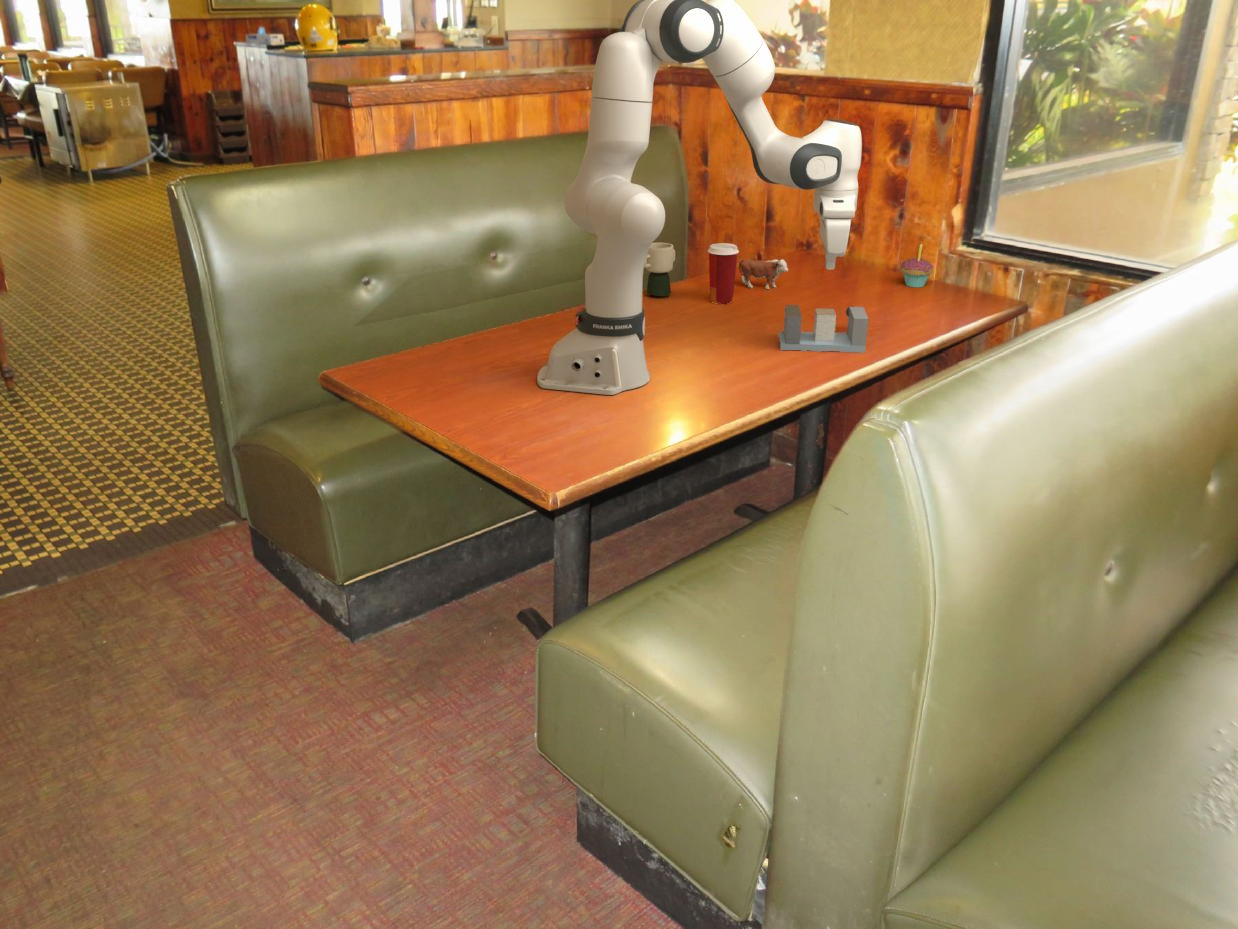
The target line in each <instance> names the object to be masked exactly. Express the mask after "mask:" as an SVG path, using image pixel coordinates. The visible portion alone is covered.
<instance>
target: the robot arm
mask: <svg viewBox="0 0 1238 929" xmlns="http://www.w3.org/2000/svg"><path fill="white" fill-rule="evenodd" d="M598 48H599V49H598V52H597V56H596V61H595V64H594V71H593V78H592V84H591V93H590V94H591V95H590V96H591V98H590V109H589V124H588V133H587V134H588V135H587V140H586V141H587V142H586V146H585V151H584V154H583V158H582V161H581V164H580V167H579V170H578V173H577V175H576V177H575V179H574V180H573V181H572V182H571V183H570V184H569V185H568V187H567V189H566V192H565V194H564V209H565V212H566V214H567V215H568V217H569V218H570V220H572V222H574V224H575V225H576V226H578V227H579V228H580V229H581V230H583V231H585V232H587V233H589V234H590V233H591V234H593V235H595V236H596V238H597V239H596V240H597V241H596V242H597V243H596V249H595V253H594V257H593V259H592V261H591V262H590V264H589V265H588V266H587V267H586V269H585V272H584V287H585V288H584V290H585V291H584V292H585V299H584V300H585V301H584V302H585V306H584V305H578V306H577V308H576V309H575V312H574V313H575V317H574V318H575V328H574V329H572V330H571V331H570V332H569V333H568V334H566V335H564V336H563V337H562V338H561V339H558V341H556V343H555V344H554V345H553V347H552V348H551V350H550V353H549V356H548V362H547V364H545V365H544V366H542V367H541V368H540V369H539V370H538V372H537V375H536V376H537V378H536V382H537V383H536V384H537V385H538V386H539V387H540V388H541V389H547V390H557V391H566V392H574V393H575V392H576V393H585V394H594V395H595V394H596V395H603V396H604V395H608V396H612V395H613V396H614V395H617V394H619V393H621V392H624V391H629V390H633V389H636V388H640V387H642V386H645V385H647V383H649V381H650V380H651V376H650V373H649V369H648V365H647V359H646V354H645V353H646V352H645V346H644V344H645V343H644V338H645V336H646V335H645V333H646V316H645V309H643V287H644V286H643V281H644V280H643V279H644V269H645V268H644V265H645V260H646V257H647V254H648V250H649V248H650V245H651V243H654V241H655V240H657V238H658V237H659V236H660V234H661V233H662V231H663V229H664V227H665V223H666V210H665V207H664V204H663V202H662V200H661V198H659V197H658V196H657V195H656V194H654V193H653V192H652V191H650V190H649V189H647V188H646V187H644V186H642V185H640V184H636V183H633V182H632V177H633V173H634V170H635V167H636V164H637V162H638V160H639V159H640V157H641V156H642V155H643V154H645V152H646V151H647V149H648V147H649V144H650V142H649V141H650V131H651V122H652V112H653V110H652V109H653V99H654V98H653V96H654V82H655V78H656V75H657V73H658V71H659V69H660V66H661V65H662V64H663V63H665V64H679V63H682V64H691V63H694V62H697V61H699V60H702V61H704V63H705V65H706V66H707V68H708V70H709V72H710V74H711V75H712V77H713V79H714V80H715V82H716V83H717V84H718V86H719V88H720V90H721V92H722V93H723V94H724V98H725V100H726V103H727V105H728V106H729V108H730V111H731V113H732V114H733V117H734V119H735V121H736V123H737V124H738V126H739V128H740V130H741V131H742V134H743V136H744V137H745V140H746V141H747V144H748V146H749V149H750V153H751V158H752V164H753V168H754V170H755V173H756V175H757V176H758V177H759V178H760V179H761V180H762V181H763V182H764V183H768V184H773V185H781V186H785V187H788V188H793V189H797V190H802V191H807V190H808V191H809V190H814V192H813V202H812V204H813V206H812V209H813V211H815V212H817V213H818V219H820V224H819V238H820V240H821V242H822V245H823V248H824V254H825V255H824V257H825V259H824V266H825V269H826V270H829V271H832V270H835V268H836V260H837V257H845V254H846V252H847V248H848V242H849V236H850V232H851V224H852V219H854V218H855V216H856V211H857V206H858V196H859V195H858V194H859V182H858V174H859V170H860V168H861V165H862V164H861V163H862V150H863V147H862V146H863V140H862V132H861V128H860V126H859V125H858V124H856V123H854V122H852V121H847V120H840V119H834V118H833V119H832V118H827V119H824V120H823V121H822V124H821V125H819V127H817V128H816V129H815V130H814V131H811V133H809V134H807V135H805V136H802V137H796V136H791V135H789V134H787V133H785V132H783V131H782V130H780V129H779V128H777V126H776V125H775V122H774V120H773V117H772V116H771V114H770V113H769V110H768V109H767V107H766V104H765V103H764V102H765V101H764V99H763V97H762V95H764V93H765V92H766V91H768V90H769V88H770V86H771V85H772V83H773V80H774V78H775V73H776V65H775V61H774V59H773V55H772V52H771V51H770V48H769V46H768V44H767V42H766V41H765V39H764V38H763V37H762V34H761V33H760V32H759V29H758V28H757V26H755V24H754V22H753V21H752V19H751V17H749V15H748V14H747V13H746V12H745V11H744V9H743V8H742V7H741V6H740V5H739V4H738V3H737V2H736V0H706V1H704V0H638V1H636V2H635V3H634V4H633V5H632V6H631V7H630V8H629V10H628V12H627V13H626V16H625V18H624V20H623V24H622V25H621V27H620V28H619V30H618V32H614V33H612V34H610V35H608V36H606V37H605V38H603V40H602V42H601V43H600V46H599V47H598Z"/></svg>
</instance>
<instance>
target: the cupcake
mask: <svg viewBox="0 0 1238 929" xmlns="http://www.w3.org/2000/svg"><path fill="white" fill-rule="evenodd" d="M918 247H919V248H918V252H917V253H918V254H917V257H913V258H912V257H911V258H908V259H907V260H904V261H902V262H901V264H900V267H899V272H900V273H902V274H903V277H904V281H905V282H904V283H905V285H906V286H907V287H909V288H923V287H924V286H925V284H926V283H927V281H928V279H929V277H930V276H931V275H932V274H933V272H934V266H933V264H932V263H931V262H930V261H929V260H926V259H924V258H921V255H922V249H923V241H921V242H920V244H919V246H918Z"/></svg>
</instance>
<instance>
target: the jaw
mask: <svg viewBox="0 0 1238 929" xmlns="http://www.w3.org/2000/svg"><path fill="white" fill-rule="evenodd" d="M801 313H802V312H801V307H800V305H798V304H785V305H784V318H783V331H784V337H785V343H786V344H800V333H801V332H802V331H801V330H802V319H803V316H802V314H801Z"/></svg>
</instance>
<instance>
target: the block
mask: <svg viewBox="0 0 1238 929" xmlns="http://www.w3.org/2000/svg"><path fill="white" fill-rule="evenodd" d="M814 310H815V311H814V321H813V323H814V324H813V332H814V333H813V336H814V340H815V342H834V335H835V333H836V324H837V321H836V320H837V314H836V311H835V309H834V308H814Z"/></svg>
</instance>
